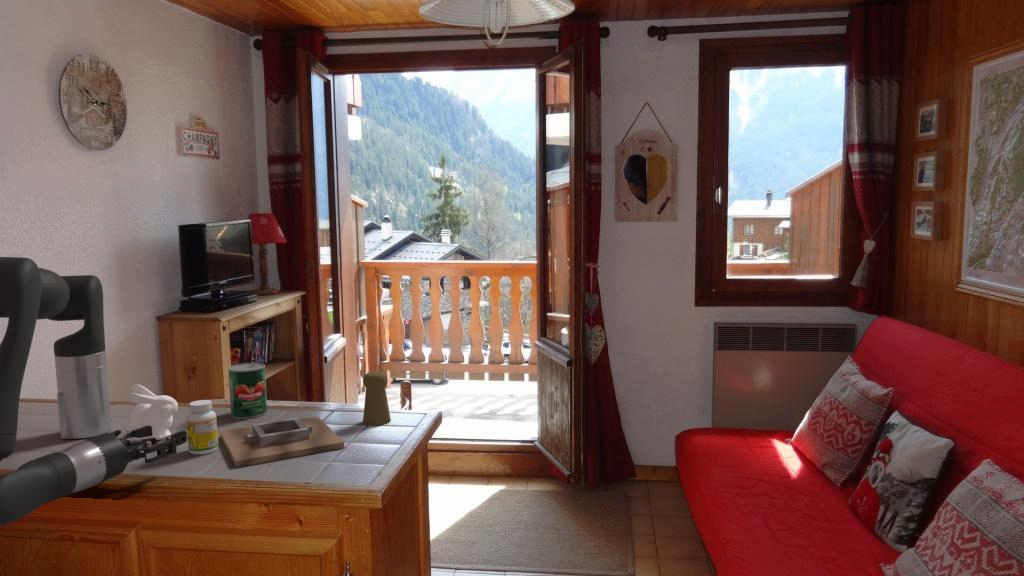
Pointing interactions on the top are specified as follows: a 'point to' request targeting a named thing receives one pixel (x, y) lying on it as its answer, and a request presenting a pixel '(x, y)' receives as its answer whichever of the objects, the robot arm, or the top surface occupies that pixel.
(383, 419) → the cork
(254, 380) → the canned tomato
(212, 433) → the supplement bottle
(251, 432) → the holder
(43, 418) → the top surface
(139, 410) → the rabbit
